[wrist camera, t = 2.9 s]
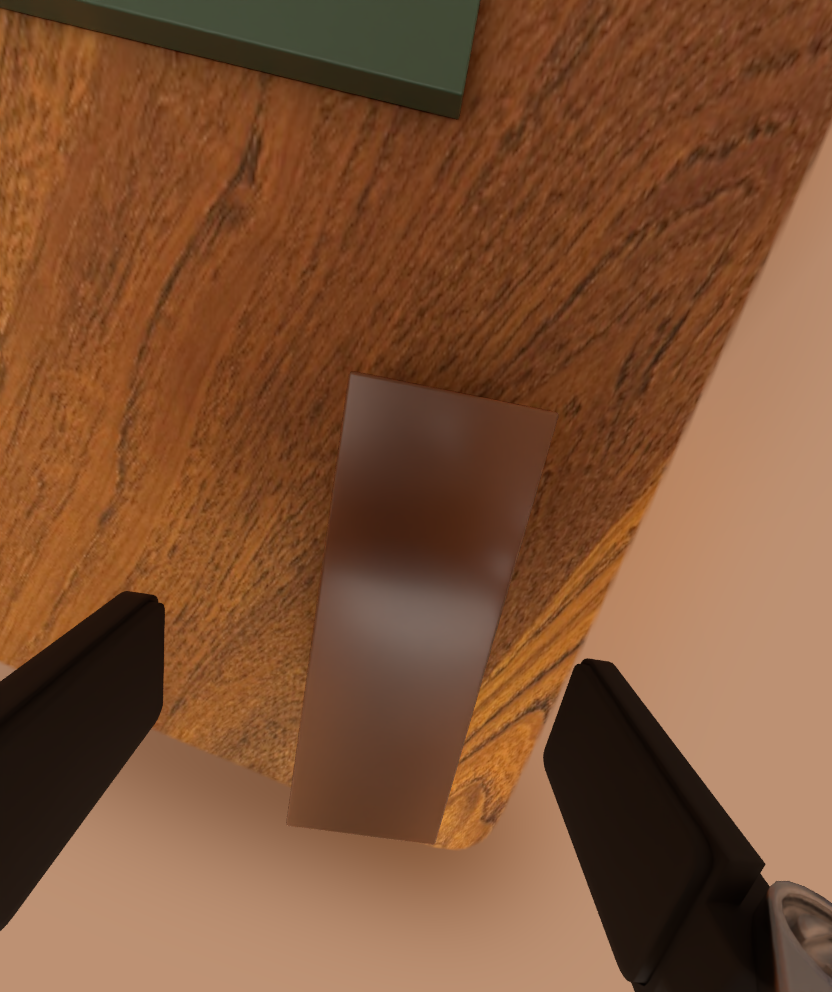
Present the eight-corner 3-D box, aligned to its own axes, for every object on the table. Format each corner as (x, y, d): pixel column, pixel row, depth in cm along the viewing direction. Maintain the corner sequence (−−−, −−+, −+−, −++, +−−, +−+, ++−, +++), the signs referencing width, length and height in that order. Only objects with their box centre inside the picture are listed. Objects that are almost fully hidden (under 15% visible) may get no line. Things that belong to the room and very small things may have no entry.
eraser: (502, 402, 13) (560, 412, 8) (428, 701, 17) (435, 846, 12) (374, 377, 13) (348, 370, 8) (326, 686, 17) (285, 826, 11)
